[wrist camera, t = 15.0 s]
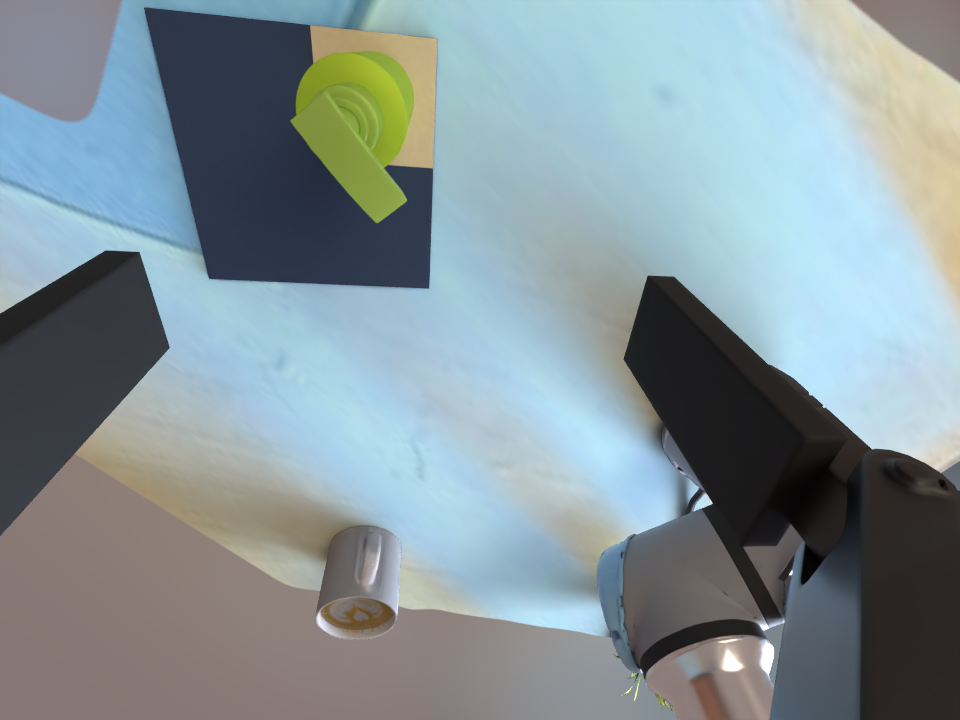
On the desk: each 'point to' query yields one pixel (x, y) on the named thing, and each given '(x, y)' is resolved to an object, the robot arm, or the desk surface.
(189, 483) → the desk surface
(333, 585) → the coffee mug
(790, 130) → the desk surface
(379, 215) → the soap dispenser
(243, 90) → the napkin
